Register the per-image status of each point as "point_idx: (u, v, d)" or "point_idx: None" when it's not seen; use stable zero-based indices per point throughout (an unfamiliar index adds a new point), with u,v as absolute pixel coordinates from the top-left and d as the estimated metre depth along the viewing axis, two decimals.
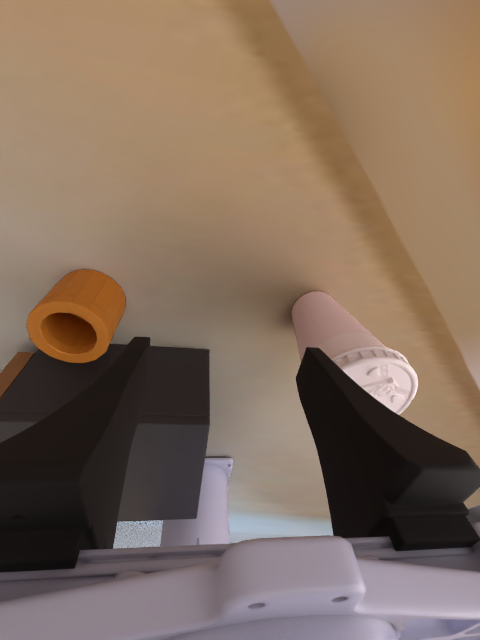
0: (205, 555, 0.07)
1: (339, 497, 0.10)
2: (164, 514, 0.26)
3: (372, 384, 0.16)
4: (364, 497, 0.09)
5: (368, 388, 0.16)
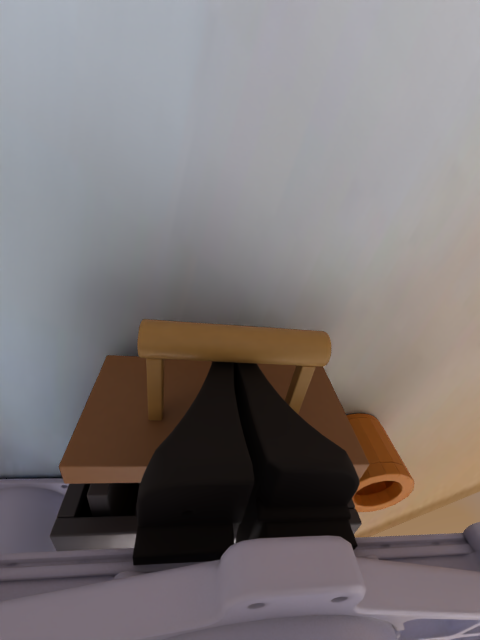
0: None
1: None
2: None
3: None
4: (249, 500, 0.08)
5: None
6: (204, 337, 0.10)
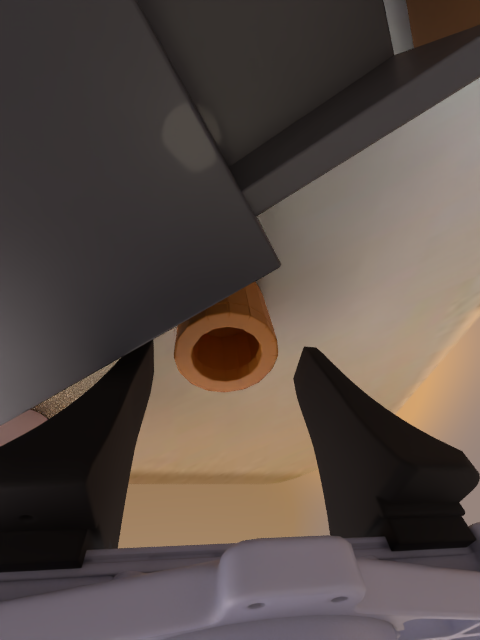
0: (205, 555, 0.07)
1: (335, 497, 0.10)
2: None
3: None
4: (360, 497, 0.09)
5: None
6: None
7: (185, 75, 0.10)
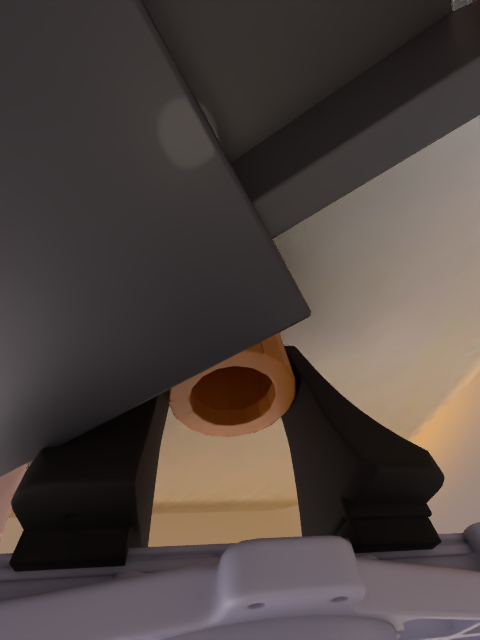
0: (205, 555, 0.07)
1: (307, 498, 0.10)
2: None
3: None
4: (327, 498, 0.09)
5: None
6: None
7: (169, 38, 0.07)
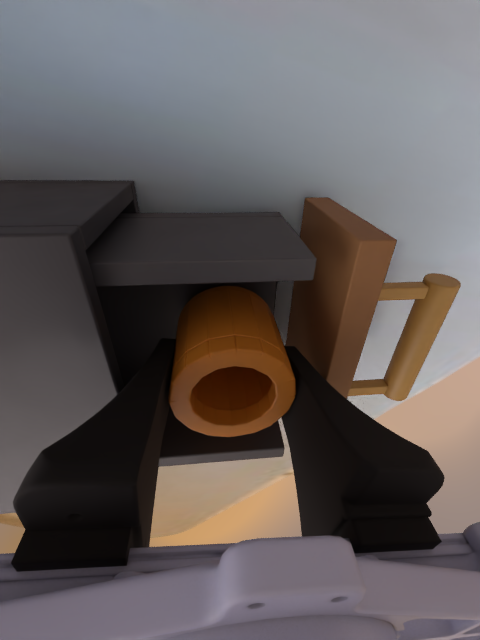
0: (205, 555, 0.07)
1: (307, 498, 0.10)
2: None
3: None
4: (327, 498, 0.09)
5: None
6: (440, 327, 0.14)
7: None
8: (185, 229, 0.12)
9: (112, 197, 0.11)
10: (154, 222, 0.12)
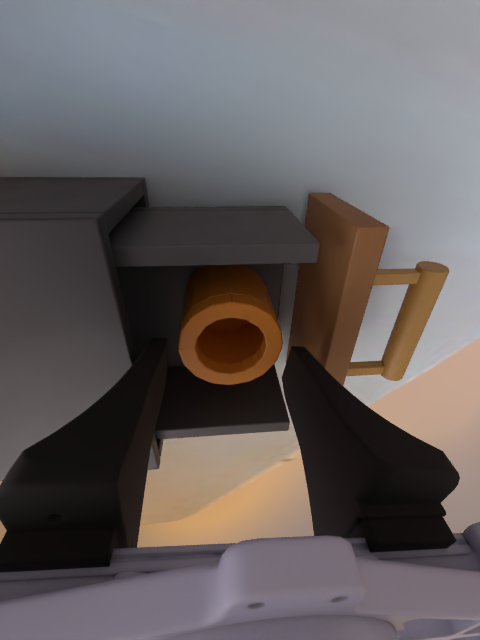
0: (205, 555, 0.07)
1: (319, 497, 0.10)
2: None
3: None
4: (342, 497, 0.09)
5: None
6: (431, 310, 0.15)
7: (172, 328, 0.18)
8: (203, 220, 0.13)
9: (127, 191, 0.12)
10: (174, 214, 0.14)
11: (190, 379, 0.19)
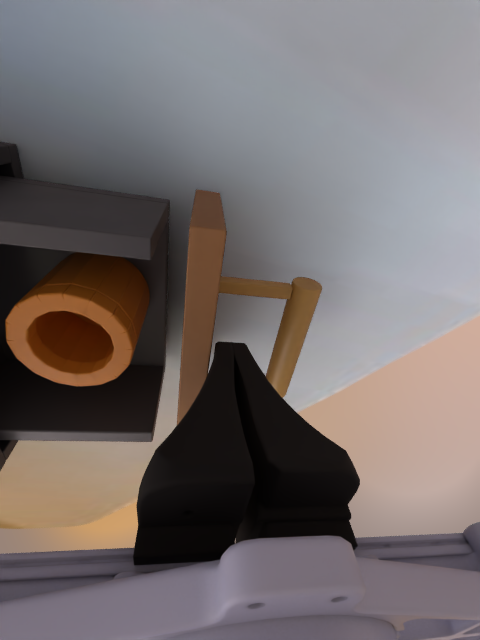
0: None
1: None
2: None
3: None
4: (249, 500, 0.08)
5: None
6: (307, 329, 0.14)
7: None
8: (49, 197, 0.11)
9: None
10: (25, 187, 0.12)
11: None
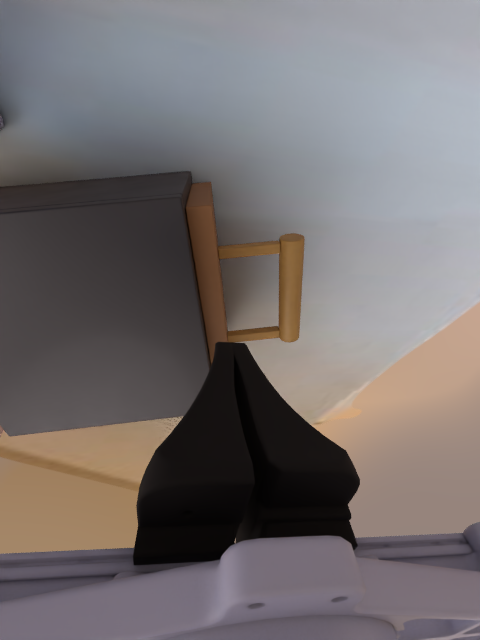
0: None
1: None
2: None
3: None
4: (249, 499, 0.08)
5: None
6: (301, 275, 0.17)
7: None
8: None
9: (186, 180, 0.15)
10: None
11: None
